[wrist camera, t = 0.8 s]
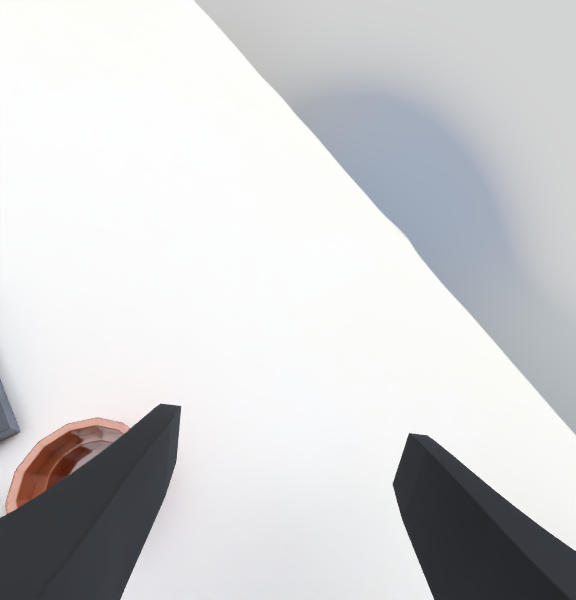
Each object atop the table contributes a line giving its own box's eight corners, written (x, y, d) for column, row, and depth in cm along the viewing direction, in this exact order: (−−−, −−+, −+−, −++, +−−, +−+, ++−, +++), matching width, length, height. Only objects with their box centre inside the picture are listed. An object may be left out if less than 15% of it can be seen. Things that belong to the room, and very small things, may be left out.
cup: (92, 566, 18) (74, 592, 14) (13, 495, 18) (-29, 500, 14) (170, 469, 21) (174, 467, 17) (103, 411, 21) (91, 395, 17)
